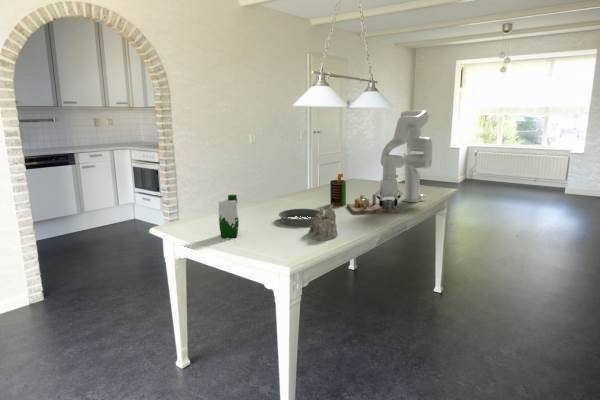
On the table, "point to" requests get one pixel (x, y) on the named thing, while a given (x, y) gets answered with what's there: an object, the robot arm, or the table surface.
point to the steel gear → (388, 204)
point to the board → (369, 207)
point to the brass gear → (360, 202)
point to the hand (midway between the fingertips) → (388, 206)
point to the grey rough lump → (323, 225)
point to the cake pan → (298, 213)
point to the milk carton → (228, 217)
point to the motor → (338, 191)
